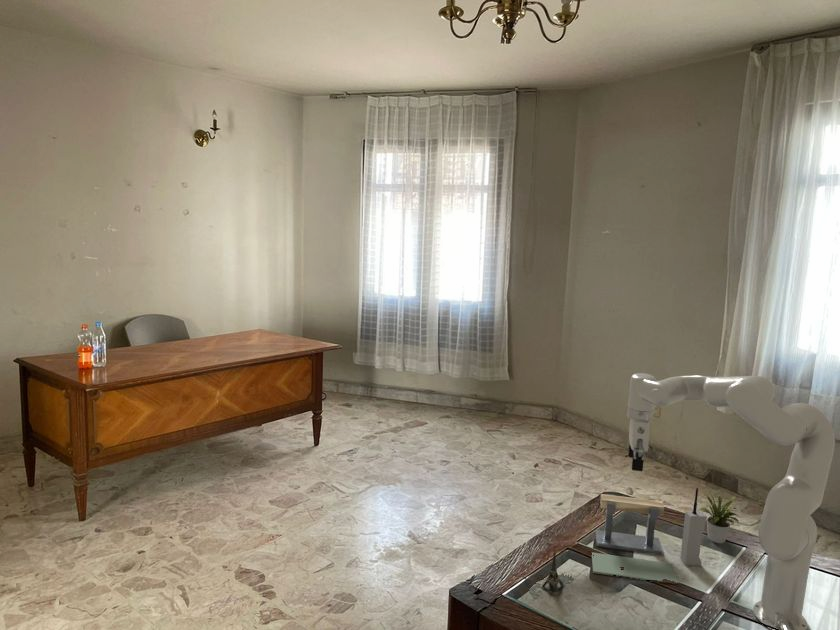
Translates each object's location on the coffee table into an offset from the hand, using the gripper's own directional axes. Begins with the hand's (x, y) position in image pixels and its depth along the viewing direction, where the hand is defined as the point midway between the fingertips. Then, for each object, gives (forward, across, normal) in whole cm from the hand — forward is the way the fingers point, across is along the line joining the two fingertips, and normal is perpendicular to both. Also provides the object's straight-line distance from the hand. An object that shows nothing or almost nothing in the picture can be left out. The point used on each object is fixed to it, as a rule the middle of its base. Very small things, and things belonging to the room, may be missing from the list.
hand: (635, 463), depth 191 cm
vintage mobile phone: (+28, -6, -18) cm, 34 cm away
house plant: (+28, +10, -28) cm, 41 cm away
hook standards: (+28, 0, 0) cm, 28 cm away
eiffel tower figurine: (+29, -28, +24) cm, 47 cm away
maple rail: (+16, 0, 0) cm, 16 cm away
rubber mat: (+28, -14, 0) cm, 31 cm away
